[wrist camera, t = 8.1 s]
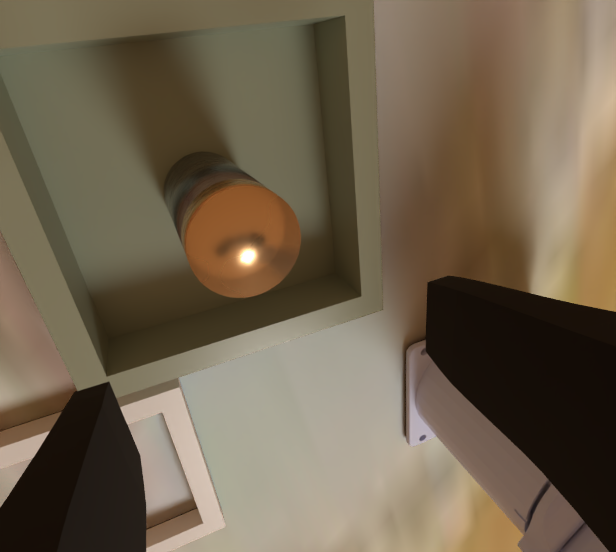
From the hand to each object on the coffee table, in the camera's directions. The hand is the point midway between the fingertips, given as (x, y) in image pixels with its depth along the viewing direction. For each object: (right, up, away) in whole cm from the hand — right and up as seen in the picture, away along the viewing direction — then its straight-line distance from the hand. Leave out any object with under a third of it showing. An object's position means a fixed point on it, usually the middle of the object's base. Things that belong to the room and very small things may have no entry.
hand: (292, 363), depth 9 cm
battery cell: (-4, +5, +7) cm, 9 cm away
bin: (-4, +5, +7) cm, 9 cm away
